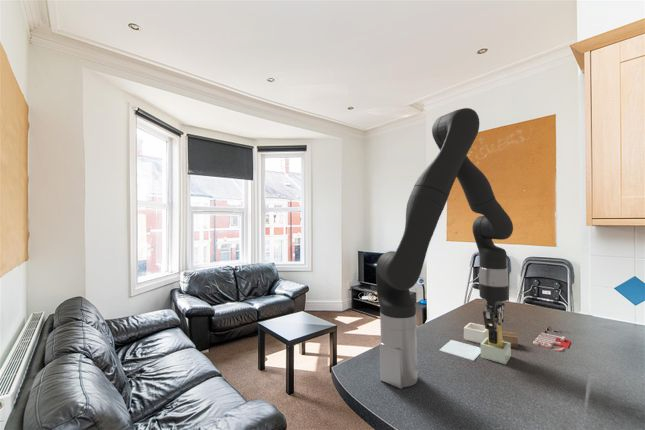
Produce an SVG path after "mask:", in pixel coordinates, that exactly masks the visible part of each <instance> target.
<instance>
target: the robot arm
mask: <svg viewBox="0 0 645 430" xmlns="http://www.w3.org/2000/svg"><path fill="white" fill-rule="evenodd" d="M479 130H480V117H479V115H478V113H477V112H476V110H474V109H472V108H469V107H464V108H459V109H456V110H454V111H451V112H448V113H446V114H444V115H442V116H439V117H438V118H436V119H435V121H434V122H433V124H432V127H431V133H432V138H433V140H434V142H435V144H436V145H437V148H438V149H439V152H438V154H437V155H436V157H435V158H434V159H433V160H432V161H431V163H430V164H429V165H428V166H427V167H426V168H425V169H424V171H423V172H422V173H421V174H420V175H419V176H418V178H417V180H416V181H415V184H414V185H413V188H412V190H411V192H410V195H409V197H408V199H407V203H406V210H405V224H404V225H405V226H404V231H403V235H402V237H401V240H400V242H399V245H398V246H397V248H396V250H391V251H387V252H384V253H383V254H381V255H380V257H379V258H378V259H377V263H376V265H375V266H376V267H375V278H376V279H375V280H376V296H377V301H378V304H379V314H380V315H379V317H380V320H379V321H380V343H379V377H380V381H382V382H384V383H386V384H389V385H391V386H393V387H396V388H398V389H400V390H402V389H403V388H407V387H412V386H414V385H416V384H417V382H418V376H419V375H418V349H417V348H418V345H417V344H418V343H417V342H418V341H417V312H416V311H417V309H416V307H417V305H416V303H415V301H414V299H413V297H412V295H411V293H410V289H411V288H413V287H414V286H415V285H416V284H417V282H418V280H419V278H420V277H421V274H422V270H423V266H424V263H425V259H426V256H427V253H428V249H429V246H430V243H431V240H432V238H433V236H434V232H435V230H436V228H437V225H438V223H439V220H440V218H441V215H442V213H443V210H444V209H445V206H446V204H447V201H448V198H449V196H450V194H451V190H452V188H453V186H454V183H455V180H456V179H457V180H458V182H459V184H460V186H461V188H462V191H463V193H464V196H465V198H466V202H467V204H468V206H469V209H470V210H471V211H472V212H473V213H476V214H479V215H480V216H477V217H476V218H475V219H474V220H473V223H472V234H473V238H474V241H475V243H476V247H477V250H478V255H479V271H478V272H479V273H478V287H479V288H478V289H479V297H480V298H481V299H482V300H486V304H485V305H484V310H483V311H482V314H483V315H482V316H483V321H484V326H485V329H488V338H489V342H490V343H493V344H497V343H498V335H497V330H498V325H501V326H502V327H503V323H504V322H505V321H504V318H505V317H504V316H505V302H507V301H509V299H510V294H509V293H510V292H509V289H510V287H509V285H510V284H509V273H508V261H507V260H508V256H507V251H506V250H505V249H504V248H502V247H500V246H498V245H497V246H496V245H495V243H494V242H493V240H499V241H500V240H507V239H509V238H510V237H511V236H512V235H513V232H514V224H513V220H512V219H511V217H510V216H509V215H508V213H507V212H506V211H505V209H504V208H503V207H502V205H501V204H500V203H499V201H497V198H496V195H495V193H494V191H493V188H492V185H491V183H490V181H489V179H488V177H487V176H486V175H485V174H484V173H483V172H482V171H481V169H480V168H479V167H478V166H476V165H475V164H474V163H473V161H471V158H469V157H468V156H467V155H468V154H469V151H470V149H471V148H472V146H473V144H474V142H475V140H476V138H477V136H478V133H479ZM490 324H492V326H490Z"/></svg>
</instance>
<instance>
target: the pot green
mask: <svg viewBox="0 0 645 430" xmlns="http://www.w3.org/2000/svg"><path fill="white" fill-rule="evenodd" d="M479 344H480V343H479ZM479 346H480V349H481V353H480V358H481V359H486V360H489V361H493V362H496V363H499V364H502V365H507V363H508V362H509V360H510V358H511V357H512V349H511V348H512V347H511V343H509V342H504V341H502V349H501V348H498V347H494V346H490V345H488V337H486V338H485V339H484V341H483V342H482V343H481V344H480V345H479Z"/></svg>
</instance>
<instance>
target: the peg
mask: <svg viewBox="0 0 645 430" xmlns="http://www.w3.org/2000/svg"><path fill="white" fill-rule="evenodd" d="M490 326H492V324H490ZM502 331H503V325H502V326H501V325H498V330H497V335H498V343H497V344H493V343H490V342H489V338H488V345H490V346H494V347H498V348H501V349H502Z"/></svg>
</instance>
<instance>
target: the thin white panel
mask: <svg viewBox="0 0 645 430" xmlns="http://www.w3.org/2000/svg"><path fill="white" fill-rule="evenodd" d="M439 352H443V353H445V354H449V355H452V356H455V357H458V358H461V359H465V360H468V361H472V362H474V361H475V360H476V359H477V358H478V357H479V356H481V349H480V347H479V346H476V345H473V344H469V343H464V342H460V341H457V340H454V339H450V340H449V341H448V342H447V343H446V344H445V345H443V346H442V347H441V348H439Z"/></svg>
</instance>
